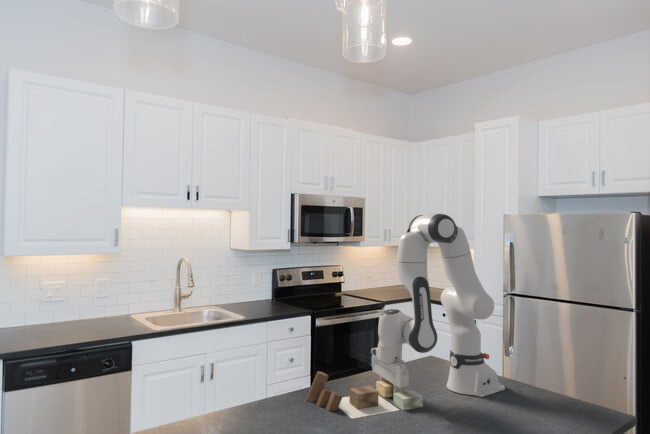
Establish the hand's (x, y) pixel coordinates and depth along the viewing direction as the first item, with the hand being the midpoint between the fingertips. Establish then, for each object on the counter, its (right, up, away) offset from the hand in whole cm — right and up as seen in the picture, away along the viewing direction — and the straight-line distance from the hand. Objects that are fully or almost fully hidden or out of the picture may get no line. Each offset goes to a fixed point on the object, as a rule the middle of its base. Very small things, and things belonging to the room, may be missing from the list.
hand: (389, 391), depth 165 cm
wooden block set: (-25, -2, -8) cm, 26 cm away
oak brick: (0, -2, 0) cm, 2 cm away
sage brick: (+5, -2, -11) cm, 12 cm away
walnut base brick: (-10, 0, -11) cm, 15 cm away
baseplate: (-10, -1, -11) cm, 15 cm away
